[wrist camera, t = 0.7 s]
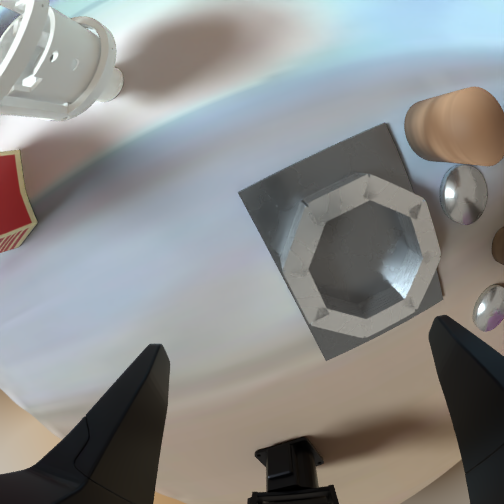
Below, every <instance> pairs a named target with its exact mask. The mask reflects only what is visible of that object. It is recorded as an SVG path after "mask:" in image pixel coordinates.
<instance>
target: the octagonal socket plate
mask: <svg viewBox="0 0 504 504" xmlns="http://www.w3.org/2000/svg"><path fill="white" fill-rule="evenodd" d="M238 194H239V196H240V197H241V199H242V201H243V203H244V205H245V207H246V209H247V210H248V212H249V214H250V216H251V218H252V220H253V222H254V224H255V225H256V227H257V229H258V231H259V233H260V235H261V237H262V239H263V241H264V242H265V244H266V246H267V248H268V250H269V252H270V254H271V256H272V258H273V259H274V261H275V263H276V265H277V267H278V269H279V271H280V273H281V275H282V277H283V279H284V280H285V282H286V284H287V286H288V288H289V290H290V292H291V294H292V296H293V298H294V300H295V302H296V303H297V305H298V307H299V309H300V311H301V313H302V315H303V317H304V319H305V321H306V323H307V325H308V327H309V329H310V331H311V333H312V334H313V336H314V338H315V340H316V342H317V344H318V346H319V348H320V350H321V352H322V354H323V356H324V358H325V360H326V361H327V360H329V359H331V358H334V357H336V356H338V355H340V354H342V353H345V352H347V351H349V350H351V349H353V348H355V347H357V346H359V345H361V344H363V343H365V342H367V341H369V340H371V339H373V338H375V337H377V336H379V335H381V334H383V333H385V332H387V331H389V330H391V329H393V328H395V327H396V326H398V325H400V324H402V323H404V322H406V321H407V320H409V319H411V318H413V317H414V316H416V315H418V314H420V313H421V312H423V311H425V310H427V309H428V308H430V307H432V306H433V305H435V304H437V303H438V302H440V301H442V300H443V296H442V291H441V287H440V282H439V278H438V273H437V269H436V268H437V266H438V264H439V261H440V259H441V257H439V256H440V255H441V251H440V247H439V244H438V240H437V236H436V232H435V229H434V225H433V222H432V219H431V215H430V212H429V209H428V206H427V203H426V200H424V198H422V197H420V196H418V195H416V194H414V192H413V189H412V187H411V184H410V181H409V178H408V176H407V173H406V171H405V168H404V166H403V163H402V161H401V158H400V156H399V153H398V151H397V149H396V146H395V144H394V142H393V139H392V137H391V135H390V133H389V130H388V128H387V126H386V124H385V123H382V124H380V125H378V126H375V127H373V128H371V129H368V130H366V131H364V132H361V133H359V134H357V135H355V136H352V137H350V138H348V139H346V140H344V141H341V142H339V143H337V144H335V145H333V146H331V147H328V148H326V149H324V150H322V151H320V152H318V153H316V154H313V155H311V156H309V157H307V158H305V159H303V160H301V161H299V162H297V163H295V164H293V165H291V166H289V167H287V168H284V169H282V170H280V171H278V172H276V173H274V174H272V175H270V176H268V177H266V178H264V179H263V180H261V181H259V182H257V183H255V184H253V185H251V186H249V187H247V188H245V189H243V190H241V191H239V192H238Z"/></svg>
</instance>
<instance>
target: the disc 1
mask: <svg viewBox="0 0 504 504" xmlns="http://www.w3.org/2000/svg"><path fill="white" fill-rule="evenodd" d="M486 201H487V187H486V183H485V180H484V178H483V176H482V174H481V173H480V172H479V171H478V170H477V169H476V168H474V167H472V166H469V165H456V166H453V167H452V168H450V169H449V170H448V171H447V172H446V174H445V175H444V177H443V180H442V182H441V187H440V202H441V206H442V208H443V210H444V212H445V214H446V215H447V216H448V217H449V218H450V219H451V220H453V221H455V222H457V223H460V224H463V225H467V224H471V223H473V222H475V221H476V220H477V219H478V218H479V217H480V216H481V215H482V213H483V211H484V209H485V206H486Z"/></svg>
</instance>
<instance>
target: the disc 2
mask: <svg viewBox="0 0 504 504" xmlns="http://www.w3.org/2000/svg"><path fill="white" fill-rule="evenodd" d="M503 318H504V288H503V287H502V286H500V285H498V284H495V285H491V286H489V287H488V288H487V289H485V290H484V291H483V293H482V294H481V295H480V297H479V298H478V300H477V302H476V304H475V307H474V310H473V322H474V324H475V325H476V326H477V327H478V328H479V329H480V330H481V331H485V332H486V331H490V330H492V329H494V328H495V327H496V326H497V325H498V324H499V323H500V322H501V321H502V320H503Z"/></svg>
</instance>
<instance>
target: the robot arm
mask: <svg viewBox="0 0 504 504" xmlns="http://www.w3.org/2000/svg"><path fill="white" fill-rule="evenodd" d="M429 342H430V346H431V350H432V354H433V358H434V362H435V366H436V370H437V374H438V378H439V381H440V384H441V387H442V390H443V393H444V396H445V399H446V403H447V406H448V409H449V412H450V416H451V419H452V423H453V426H454V430H455V434H456V437H457V441H458V445H459V449H460V453H461V458H462V462H463V466H464V471H465V473H466V474H465V476H466V482H467V487H468V492H469V498H470V504H504V356H502V355H501V354H500V353H498V352H497V351H496V350H494V349H493V348H492V347H490V346H489V345H488V344H486V343H485V342H484V341H482V340H481V339H480V338H478V337H477V336H475V335H474V334H473V333H471V332H470V331H469V330H467V329H466V328H464V327H463V326H462V325H460V324H459V323H457V322H456V321H454V320H453V319H452V318H450V317H449V316H447V315H441V316H437V317H436V318H435V319H434V321H433V324H432V326H431V329H430V332H429ZM169 374H170V361H169V358H168V356H167V354H166V351H165V349H164V347H163V345H162V344H149V345H148V346H147V347H146V348H145V349H144V350H143V352H142V353H141V354H140V355H139V356H138V357H137V358H136V359H135V360H134V362H133V363H132V364H131V365H130V366H129V367H128V368H127V369H126V370H125V372H124V373H123V374H122V375H121V376H120V377H119V378H118V379H117V380H116V382H115V383H114V384H113V385H112V386H111V387H110V388H109V389H108V391H107V392H106V393H105V394H104V395H103V396H102V397H101V398H100V399H99V401H98V402H97V403H96V404H95V405H94V406H93V407H92V409H91V410H90V411H89V412H88V413H87V414H86V417H83V419H82V420H81V421H80V422H79V423H78V424H77V425H76V426H75V427H74V428H73V430H72V431H71V432H70V433H69V434H68V435H67V436H66V437H65V438H64V439H63V440H62V441H61V442H60V443H58V444H57V445H56V446H55V447H54V448H53V449H52V450H51V451H50V452H49V453H47V455H45V456H44V457H43V458H42V459H41V460H40V461H39V462H37V463H36V464H35V465H33V466H32V467H30V468H27V469H25V470H21V471H16V472H11V473H6V474H0V504H153V501H154V493H155V485H156V478H157V471H158V464H159V457H160V450H161V444H162V437H163V431H164V425H165V419H166V413H167V406H168V391H169ZM255 457H256V458H257V459H258V460H259V461H260V462H261V463H262V464H263V465H264V466H265V467H266V492H252V497H250V498H248V503H247V504H339V502H338V499H337V495H336V492H335V488H334V485H328V486H326V487H319V486H318V479H317V472H316V466H318V465H321V464H323V463H324V461H323V458H322V457H321V456H320V455H319V453H318V452H317V451H316V449H315V448H314V447H313V445H312V444H311V443H310V441H309V440H308V439H307V438H305V437H303V438H299V439H296V440H293V441H290V442H287V443H284V444H280V445H277V446H274V447H270V448H267V449H263V450H259V451H256V452H255Z"/></svg>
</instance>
